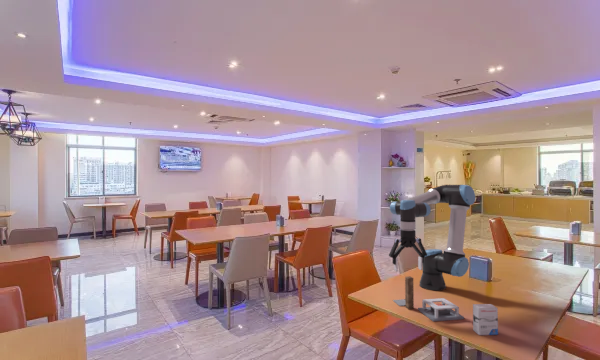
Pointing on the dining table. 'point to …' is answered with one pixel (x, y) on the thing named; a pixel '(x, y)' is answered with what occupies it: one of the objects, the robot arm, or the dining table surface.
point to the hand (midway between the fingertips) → (408, 270)
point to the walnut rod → (409, 293)
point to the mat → (400, 302)
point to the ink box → (485, 319)
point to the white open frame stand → (440, 310)
